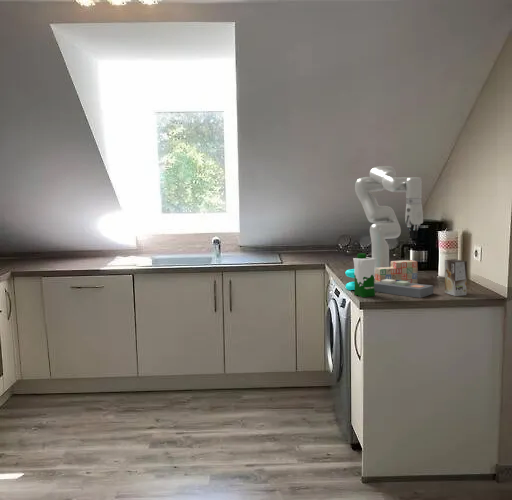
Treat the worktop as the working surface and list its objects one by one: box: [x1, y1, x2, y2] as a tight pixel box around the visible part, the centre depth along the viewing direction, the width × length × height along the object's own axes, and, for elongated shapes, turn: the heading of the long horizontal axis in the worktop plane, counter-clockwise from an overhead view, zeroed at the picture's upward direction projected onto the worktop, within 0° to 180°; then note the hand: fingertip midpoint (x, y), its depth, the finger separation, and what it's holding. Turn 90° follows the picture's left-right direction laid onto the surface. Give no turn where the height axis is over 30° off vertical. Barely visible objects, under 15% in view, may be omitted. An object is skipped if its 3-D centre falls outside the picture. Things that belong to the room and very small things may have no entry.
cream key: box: [381, 279, 395, 284], centre depth 265 cm, size 5×5×3 cm
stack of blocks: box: [374, 259, 419, 284], centre depth 281 cm, size 21×6×12 cm, turn 103°
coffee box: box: [444, 258, 468, 297], centre depth 251 cm, size 9×6×16 cm
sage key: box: [395, 281, 410, 286], centre depth 259 cm, size 5×5×3 cm
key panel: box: [374, 281, 434, 299], centre depth 259 cm, size 26×12×4 cm, turn 43°
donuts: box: [345, 268, 355, 291], centre depth 271 cm, size 10×10×10 cm
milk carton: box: [352, 252, 376, 298], centre depth 254 cm, size 9×9×20 cm
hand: (413, 237), depth 271 cm, fingers closed
